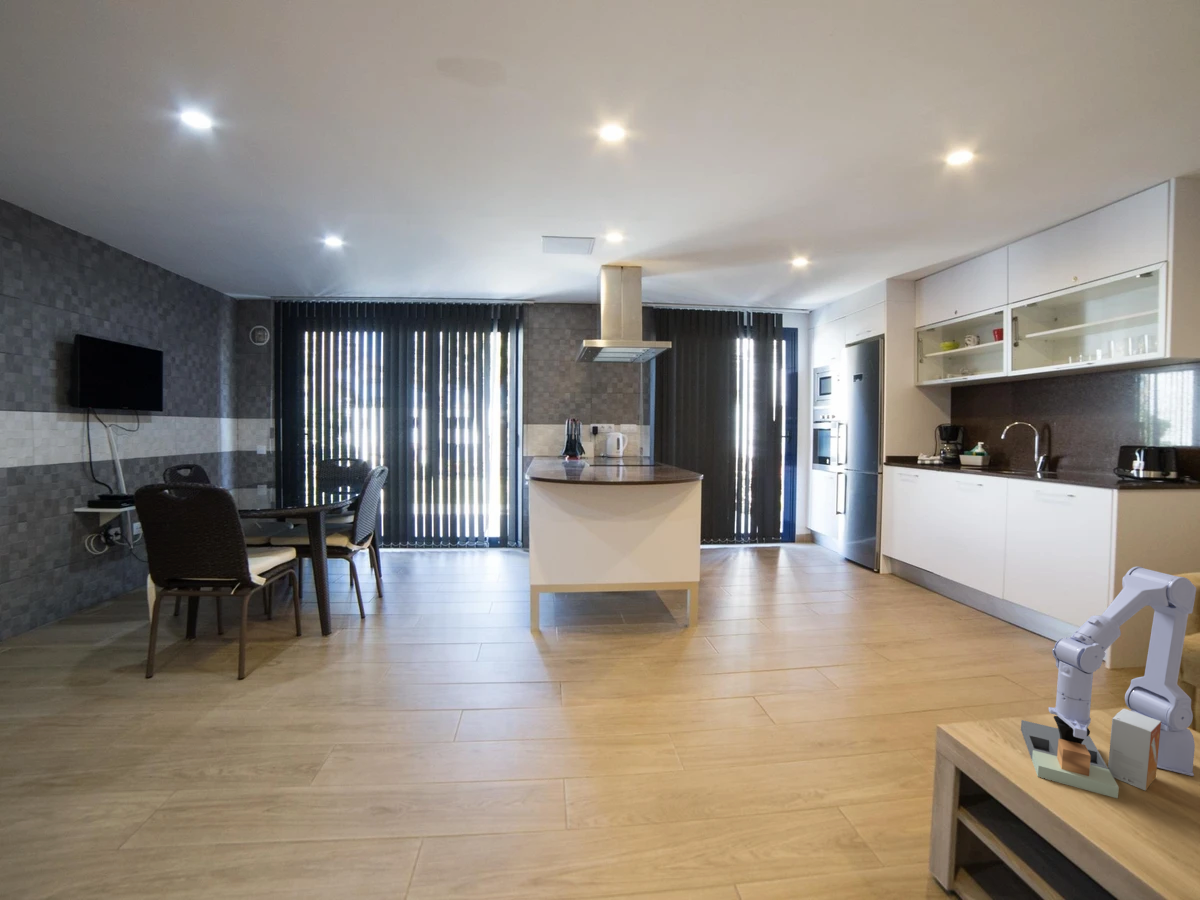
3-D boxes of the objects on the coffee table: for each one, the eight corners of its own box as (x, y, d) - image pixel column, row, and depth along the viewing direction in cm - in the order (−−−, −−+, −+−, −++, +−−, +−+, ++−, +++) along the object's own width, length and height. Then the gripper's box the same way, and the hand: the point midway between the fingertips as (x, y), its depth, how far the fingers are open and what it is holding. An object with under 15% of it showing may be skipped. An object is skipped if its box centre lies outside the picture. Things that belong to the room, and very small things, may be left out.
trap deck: (1088, 746, 130) (1089, 735, 130) (1117, 798, 112) (1118, 786, 112) (1020, 729, 137) (1021, 719, 137) (1037, 776, 119) (1038, 765, 118)
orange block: (1083, 764, 119) (1085, 744, 119) (1089, 776, 115) (1090, 755, 115) (1057, 757, 121) (1058, 738, 121) (1061, 769, 117) (1063, 748, 117)
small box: (1146, 792, 114) (1151, 732, 114) (1106, 775, 120) (1111, 717, 119) (1157, 778, 119) (1162, 720, 118) (1117, 762, 124) (1122, 707, 123)
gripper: (1043, 676, 129) (1039, 732, 130) (1058, 703, 116) (1053, 765, 117) (1082, 684, 125) (1078, 741, 126) (1101, 713, 113) (1096, 776, 114)
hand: (1069, 753), depth 121 cm, fingers closed
